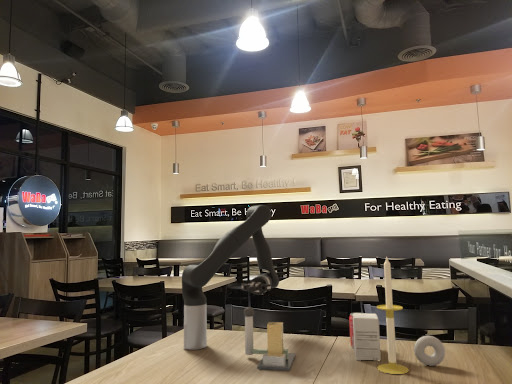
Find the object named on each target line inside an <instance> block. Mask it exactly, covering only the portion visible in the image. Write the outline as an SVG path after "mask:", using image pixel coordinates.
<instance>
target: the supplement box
mask: <svg viewBox="0 0 512 384" xmlns="http://www.w3.org/2000/svg"><path fill="white" fill-rule="evenodd" d="M352 313H353V333H354V348H353V349H354V358H355V359H354V360H355V361H361V360H377V361H376V362H379V361H378V360H381V359H382V357H381V342H380V341H381V339H380V336H381V335H380V321H379V317H378V315H377V313H364V312H352ZM381 361H382V360H381Z"/></svg>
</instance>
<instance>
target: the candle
mask: <svg viewBox="0 0 512 384" xmlns="http://www.w3.org/2000/svg"><path fill="white" fill-rule="evenodd" d="M383 271H384V272H383V274H384V290H385V291H384V292H385V304H379V305H376V307H375V308H376V309H378V310H380V311H381V310H382V311H385V320H386V339H387V357H388V363H381V364H379V365H377V366H376V369H377V368H378V369H377V370H378V371H379V370H380V371H382V372H381V373H383V372H384V374H385V373H390V374H389V375H391V374H403V375H405V374H404V373H407V372H408V371H409V372H410V370H409V369H408V367H406V366H403V365H401V364H397V349H396V332H395V331H396V330H395V315H394V314H395V313H394V311H402V310H403V309H404V308H403V306H401V305H397V304H393V290H392V289H393V288H392V287H393V286H392V285H393V284H392V270H391V262H390V261H389V258H388V257H385V261H384V263H383ZM380 371H379V372H380ZM409 372H408V373H409ZM408 373H407V374H408Z"/></svg>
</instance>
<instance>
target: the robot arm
mask: <svg viewBox="0 0 512 384" xmlns="http://www.w3.org/2000/svg"><path fill="white" fill-rule="evenodd" d="M245 214H246V219H245V221H244V222H242V223H240V224H238V225H236V226H234V227H233V228H231V229H230V230H228V231H227V232H226V233H225V234H223V235H222V236H221V237H220V238H219V239H218V241H217V242H216V243H215V245H214V247H213V249H212V251H211V253H210V254H209V255H208V256H207V257H206V258H205V259H204V260H203V261H202V262H201V263H199V264H189V265H187V266H186V267H185V268H184V269H183V271H182V273H181V274H182V275H181V292H182V293H181V294H182V300H183V316H184V317H183V350H191V351H193V350H196V351H197V350H201V349H205V348H207V346H208V344H207V342H208V337H207V335H208V333H207V331H208V330H207V329H208V328H207V325H208V324H207V320H208V319H207V318H208V317H207V316H208V315H207V297H206V295H205V294H204V291H203V288H204V287H205V286H206V285H207V284H208V283H209V282H210V281H211V279H213V277H214V275H216V273H217V272H218V271H219V269H221V267H222V266H223V265H225V264H226V263H227V262H228V260H229V259H232V257H233V256H234V255H236V253H237V252H238V251H239V250H240V249H241V248H242V247H243V246H244V245H245V243H247V241H248V240H250V239H251V238H252V241H253V245H254V248H255V254H256V256H255V257H256V260H257V261H256V262H257V267H258V269H260V270H266V271H268V273H267V272H266V273H259V274H258V275H257V276H255V277H254V278H252V279H251V280H250V282H249V283H241V291H245V292H249V293H252V294H254V295H256V296H257V295H258V296H260V295H263V294H265V293H266V292H270V291H271V289H274V288H277V287H278V286H279V284H280V279H279V276H278V274H277V272H276V270H275V265H274V262H273V257H272V251H271V248H270V245H269V243H268V242H267V239H266V237H265V236H264V232H263V229H262V228H263V227H265V225H267V224H268V223H269V222H270V220H271V217H272V210H271V208H270V207H269V206H268V205H265V204H258V205H251V206H250V207H249V208H247V211H246V213H245Z"/></svg>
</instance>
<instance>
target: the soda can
mask: <svg viewBox="0 0 512 384" xmlns="http://www.w3.org/2000/svg"><path fill="white" fill-rule="evenodd" d="M353 313H354V312H351V313H350V314H349V317H348V321H349V322H348V323H349V338H350V339H349V341H350V342H349V343H350V346H351V348H352V349H354V333H353Z"/></svg>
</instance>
